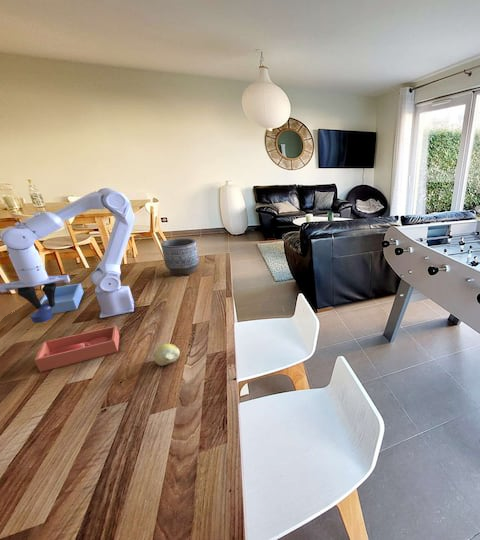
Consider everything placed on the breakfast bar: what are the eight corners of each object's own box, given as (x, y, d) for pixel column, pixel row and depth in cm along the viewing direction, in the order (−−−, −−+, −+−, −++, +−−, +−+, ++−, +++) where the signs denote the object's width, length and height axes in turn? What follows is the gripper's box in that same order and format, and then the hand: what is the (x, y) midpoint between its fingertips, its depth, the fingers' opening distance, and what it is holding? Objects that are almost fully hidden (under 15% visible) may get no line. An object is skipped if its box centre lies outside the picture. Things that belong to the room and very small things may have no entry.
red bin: (119, 336, 92) (116, 325, 90) (117, 351, 85) (114, 340, 83) (48, 353, 83) (43, 341, 82) (40, 372, 76) (34, 360, 75)
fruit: (178, 346, 89) (185, 359, 81) (157, 359, 85) (163, 374, 78) (168, 332, 86) (174, 344, 79) (146, 345, 83) (150, 358, 76)
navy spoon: (41, 306, 93) (38, 299, 92) (60, 303, 95) (57, 296, 94) (30, 324, 84) (27, 316, 83) (51, 320, 86) (48, 312, 85)
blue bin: (52, 297, 112) (48, 288, 110) (83, 292, 117) (80, 283, 115) (41, 316, 100) (36, 306, 98) (77, 309, 105) (73, 299, 103)
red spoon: (50, 363, 79) (47, 355, 78) (54, 354, 82) (51, 346, 81) (108, 348, 85) (106, 341, 84) (109, 340, 89) (107, 333, 88)
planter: (202, 273, 140) (197, 244, 134) (168, 279, 132) (161, 248, 126) (198, 264, 150) (193, 236, 145) (166, 268, 143) (160, 240, 137)
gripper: (65, 258, 92) (79, 296, 97) (-3, 266, 84) (16, 307, 89) (61, 266, 87) (75, 305, 92) (-12, 275, 79) (8, 317, 84)
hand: (46, 306), depth 90 cm, fingers closed on navy spoon, 2 cm apart
